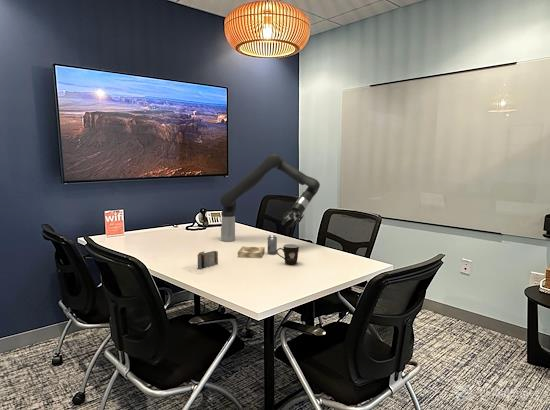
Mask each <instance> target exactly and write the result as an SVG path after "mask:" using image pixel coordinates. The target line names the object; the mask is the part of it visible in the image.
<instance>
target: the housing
mask: <svg viewBox="0 0 550 410" xmlns="http://www.w3.org/2000/svg"><path fill="white" fill-rule="evenodd" d="M277 245H278V237H277V236H276V235H275V234H274V235H273V234H270V235H268V236H267V255H272V256H273V255H274V256H275V255H278V254H277V252H278V251H277V249H278V246H277Z"/></svg>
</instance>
